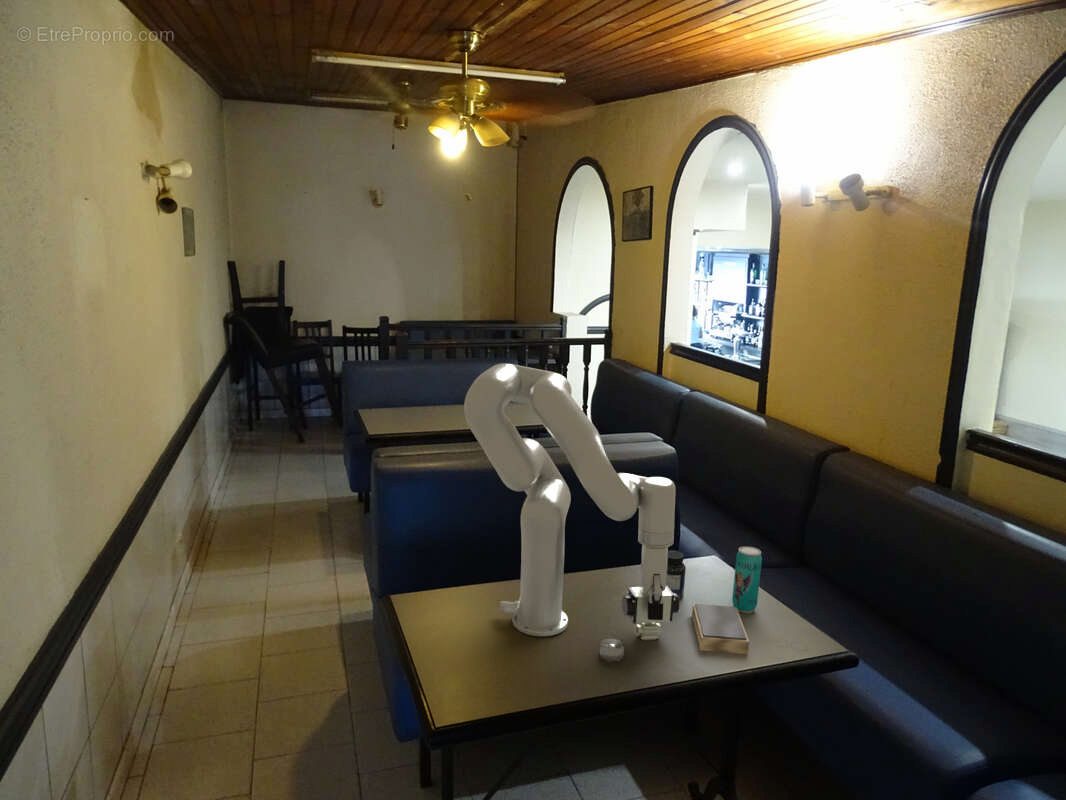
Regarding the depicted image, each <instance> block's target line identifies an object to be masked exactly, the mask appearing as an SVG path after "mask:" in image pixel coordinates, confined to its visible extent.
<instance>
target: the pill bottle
mask: <svg viewBox="0 0 1066 800" xmlns="http://www.w3.org/2000/svg"><path fill="white" fill-rule="evenodd" d="M683 561H684V554H683V552H680V551H678V550H668V559H667V578H666V586H668V588H669V589H670V590H671V592H672V593H676V594H677V596H678V599H679V601H680V600H682V599H683V597H684V593H685V582H686V581H685V580H686V565H685V563H683Z"/></svg>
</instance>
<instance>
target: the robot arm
mask: <svg viewBox="0 0 1066 800" xmlns="http://www.w3.org/2000/svg"><path fill="white" fill-rule="evenodd" d="M572 391H573V390H572V386H571V384H570V382H569V381H568V379H567V378H566V377H565V376H563V375H562V374H560V373H557V372H554V371H549V370H543V369H538V368H532V367H528V366H523V365H519V364H513V363H505V362H504V363H497V364H495V365H493V366H491V367H489V368H487V369H486V370H485V371H484V372H482V373H480V375H479V376H478V377H477V378H476V379H475V380H474V381H473V383H472V384H471V385H470V387H469V389H468V391H467V392H466V395H465V397H464V398H465V399H464V404H463V405H464V406H463V412H464V417H465V420H466V423H467V425H468V427H469V430H470V431H471V432H472V434H473V435H474V437H475V439H476V440H477V442H478V443H479V445H480V446H481V447H480V448H482V450H483V452H484V453H485V455H486V456H487V459H488V460H489V461H490V463H491V465H492V466H493V468H494V470H495V471H496V473H497V475H498V476H499V478H500V479H501V481H502V482H503V484H504V485H505V486H506V488H508V489H510V490H512V491H515V492H525V494H526V498H525V500H524V502H523V505H522V508H521V511H520V512H521V513H520V531H521V532H520V533H521V536H520V537H521V549H520V550H521V553H520V556H521V558H520V560H521V563H520V591H519V592H520V593H519V599H518V600H514V602H513V601H505V600H504V601H503V600H501V601H500V605H499V607H500V609H499V610H500V611H501V610H502V611H503V614H504V615H512V618H511V619H512V625H513V627H514V628H515V629H517V630H518V631H519V632H520V633H523V634H525V635H529V636H533V637H534V636H535V637H551V636H554V635H558V634H560V633H562V632H563V631H565V630H566V629H567V628H568V625H569V617H568V615H567V613H565V612H564V611H563V609H562V608H563V588H564V567H565V566H564V565H565V532H566V531H565V530H566V529H565V526H566V520H567V519H566V518H567V515H568V512H569V508H570V505H571V500H572V498H571V497H572V496H571V492H570V488H569V486H568V484H567V483H566V480H565V479H564V477H563V475H562V474H561V473H560V471H559V469H558V468H557V466H556V464H555V463H554V462H553V459H552V458H551V456H550V455H549V453H548V452H547V450H546V449H545V447H544V446H543V445H542V444H540V443H539V442H538V441H536V440H534V439H532V438H528V437H523V438H522V436H521V434H520V433H519V431H518V430H517V427H516V426H515V424H514V423H513V421H511V419H510V418H509V417H508V416H507V415H506V412H505V408H506V406H507V405H508V404H509V403H510V402H514V403H519V404H520V403H521V404H524V405H529V408H530V409H531V411H532V413H533V414H534V415H535V416H536V418H537V419H538V420H539V421H540V423H541V425H543V427H544V428H545V429H546V430H547V433H549V434H550V436H551V437H552V439H554V440H555V442H556V443H557V445H558V446H559V447H560V449H561V450H562V452H563V453H564V454H565V456H566V458H567V460H568V463H569V464H570V466H571V467H572V469H573V471H574V473H575V474H576V477H577V478H578V479H579V482H580V484H582V485H581V486H582V487H583V488H584V490H585V491H586V492H587V494H588V495H589V497H590V498H591V499H592V500H593V502H594V503H595V504H596V506H597V507H598V508H599V509H600V511H601V512H603V513H602V514H604V515H605V516H607V517H608V518H610V519H612V520H614V521H617V522H623V521H627V520H629V519H630V518H632V517H633V516H634V515H635V513H636V512H637V511H638V529H637V530H638V537H637V538H638V539H637V541H638V543H639V544H641V545H642V546H641V563H640V580H641V587H642V589H643V590H644V591H646V590H649V601H648V619H649V620H663V591H664V590H665V589H666V578H667V559H668V551H669V549H668V548H669V547H671V546H673V544H674V539H675V536H674V535H675V510H676V508H675V507H676V491H677V490H676V485H675V483H674V481H673V480H671V479H670V478H667V477H663V476H650V477H647V476H641V475H636V474H633V473H632V474H631V473H627V472H626V473H625V472H618V473H617V471H616V470H615V469H614V466H613V465H612V463H611V462H610V460H609V457H608V456H607V454H606V451H605V449H604V445H603V441H602V437H601V435H600V433H599V431H598V429H597V428H596V426H595V425H594V424H593V423H592V421H591V420H590V419H589V417H588V416H587V414H586V413H585V412H584V411H583V409H582V408H581V407H580V406H579V404H578V403H577V402H576V400H575V399H574V398H573V397H572ZM637 509H638V510H637ZM651 586H654V588H651ZM652 592H654V595H653V596H652Z"/></svg>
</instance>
